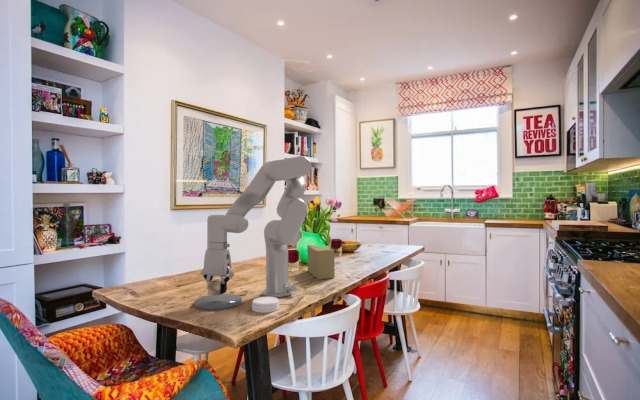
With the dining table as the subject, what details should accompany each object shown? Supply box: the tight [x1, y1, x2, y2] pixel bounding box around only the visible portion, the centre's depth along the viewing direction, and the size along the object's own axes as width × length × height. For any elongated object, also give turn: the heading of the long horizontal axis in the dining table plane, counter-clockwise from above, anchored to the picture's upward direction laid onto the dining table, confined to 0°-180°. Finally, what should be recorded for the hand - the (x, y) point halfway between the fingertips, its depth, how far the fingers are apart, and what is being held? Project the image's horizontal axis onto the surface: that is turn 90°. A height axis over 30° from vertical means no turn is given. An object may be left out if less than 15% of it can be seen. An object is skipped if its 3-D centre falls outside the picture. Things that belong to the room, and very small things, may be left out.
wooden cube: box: [207, 278, 222, 295], centre depth 142 cm, size 5×5×5 cm
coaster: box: [251, 296, 280, 314], centre depth 135 cm, size 10×10×4 cm
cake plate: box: [193, 293, 243, 311], centre depth 143 cm, size 18×18×1 cm
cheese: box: [306, 244, 336, 281], centre depth 192 cm, size 22×10×15 cm, turn 26°
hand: (217, 291), depth 142 cm, fingers closed on wooden cube, 4 cm apart
